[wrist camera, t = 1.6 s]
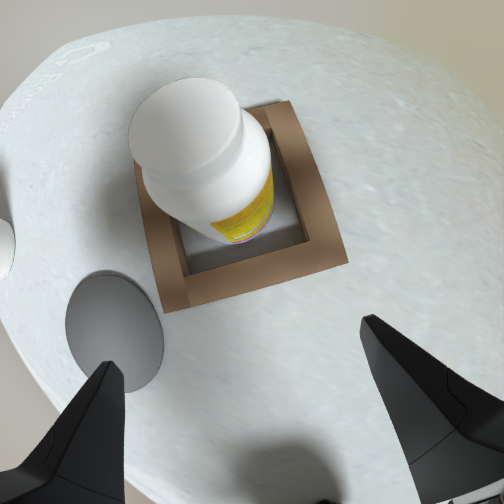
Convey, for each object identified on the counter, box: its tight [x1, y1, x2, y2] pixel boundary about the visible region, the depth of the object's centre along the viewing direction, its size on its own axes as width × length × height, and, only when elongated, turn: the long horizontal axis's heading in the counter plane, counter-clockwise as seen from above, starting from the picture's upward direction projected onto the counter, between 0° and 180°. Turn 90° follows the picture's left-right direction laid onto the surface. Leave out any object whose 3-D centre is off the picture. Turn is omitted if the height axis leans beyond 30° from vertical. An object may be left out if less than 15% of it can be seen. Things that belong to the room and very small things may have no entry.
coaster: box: [65, 275, 164, 393], centre depth 22 cm, size 11×11×1 cm
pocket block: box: [134, 100, 349, 314], centre depth 21 cm, size 14×14×2 cm
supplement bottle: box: [128, 77, 274, 244], centre depth 16 cm, size 7×7×13 cm
